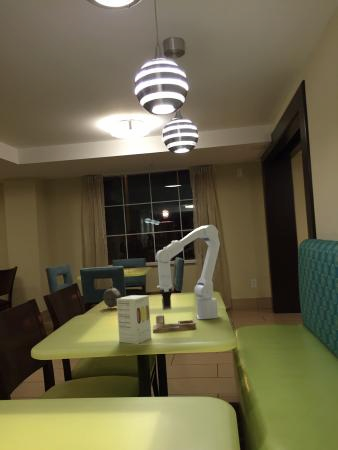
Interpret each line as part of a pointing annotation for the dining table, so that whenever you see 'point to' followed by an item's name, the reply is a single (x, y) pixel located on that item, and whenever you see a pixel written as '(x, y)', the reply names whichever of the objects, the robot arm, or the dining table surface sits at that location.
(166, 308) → the block
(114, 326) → the dining table surface
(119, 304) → the supplement box
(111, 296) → the alarm clock
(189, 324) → the rail base
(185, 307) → the dining table surface
